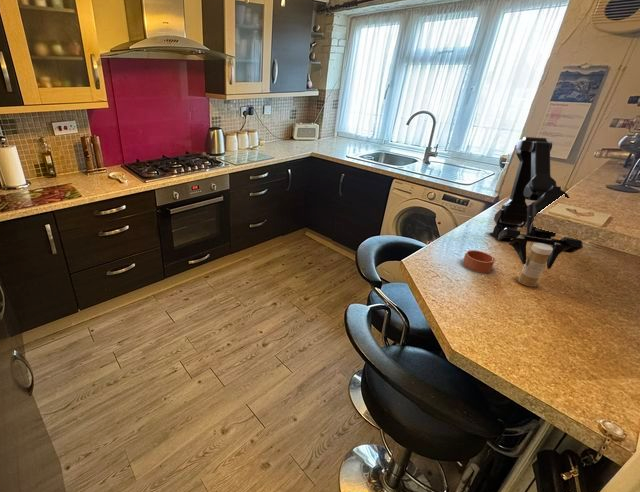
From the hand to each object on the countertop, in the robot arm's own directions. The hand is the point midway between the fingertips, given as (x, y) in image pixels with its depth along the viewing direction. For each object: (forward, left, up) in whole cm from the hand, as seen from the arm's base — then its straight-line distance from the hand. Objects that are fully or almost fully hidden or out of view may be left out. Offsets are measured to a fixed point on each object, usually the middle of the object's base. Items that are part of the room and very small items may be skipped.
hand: (536, 266), depth 97 cm
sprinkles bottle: (-1, -1, -7) cm, 7 cm away
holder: (+8, -11, -7) cm, 16 cm away
